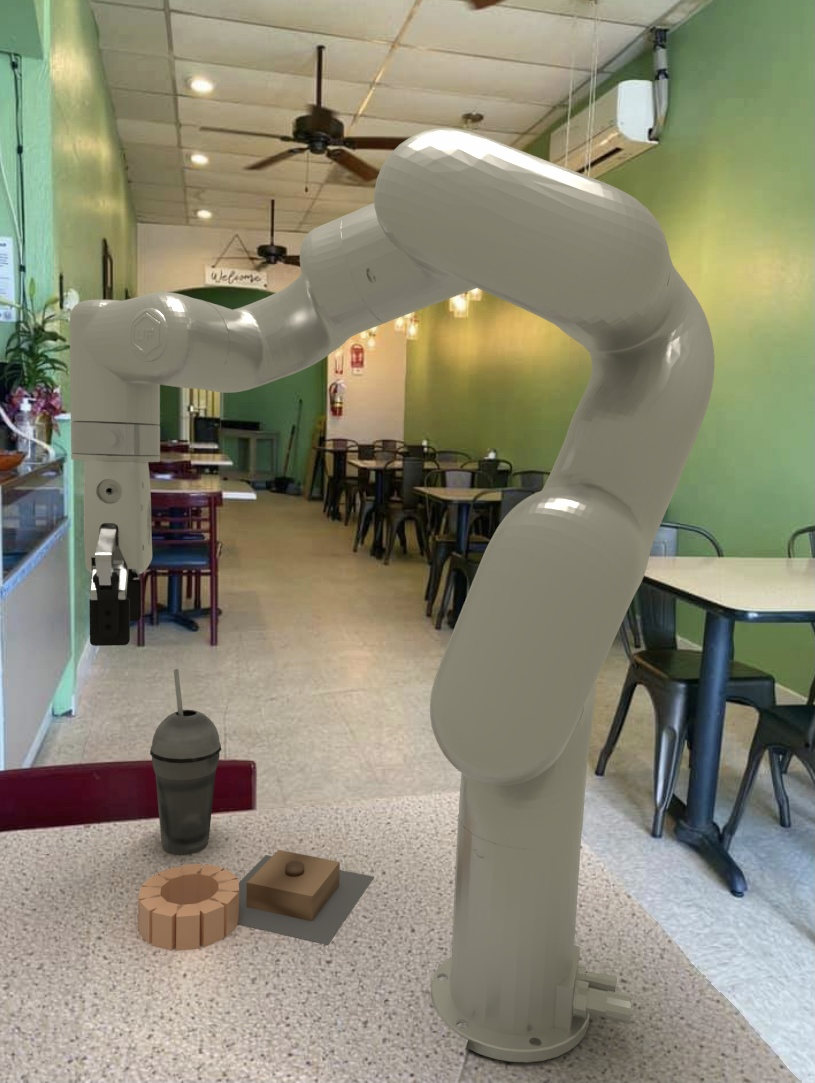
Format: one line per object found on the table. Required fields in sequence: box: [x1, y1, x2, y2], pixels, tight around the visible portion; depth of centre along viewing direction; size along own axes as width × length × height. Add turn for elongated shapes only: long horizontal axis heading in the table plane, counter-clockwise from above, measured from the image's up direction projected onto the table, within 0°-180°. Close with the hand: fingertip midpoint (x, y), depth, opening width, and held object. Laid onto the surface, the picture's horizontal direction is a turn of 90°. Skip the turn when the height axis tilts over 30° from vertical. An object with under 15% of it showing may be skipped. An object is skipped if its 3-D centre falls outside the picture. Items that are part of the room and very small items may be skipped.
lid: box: [246, 849, 341, 921], centre depth 78 cm, size 7×7×3 cm
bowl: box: [137, 863, 240, 952], centre depth 73 cm, size 9×9×4 cm
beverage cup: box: [149, 668, 222, 856], centre depth 86 cm, size 7×7×20 cm
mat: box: [237, 854, 375, 946], centre depth 78 cm, size 12×12×1 cm
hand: (117, 631), depth 75 cm, fingers open, 9 cm apart
